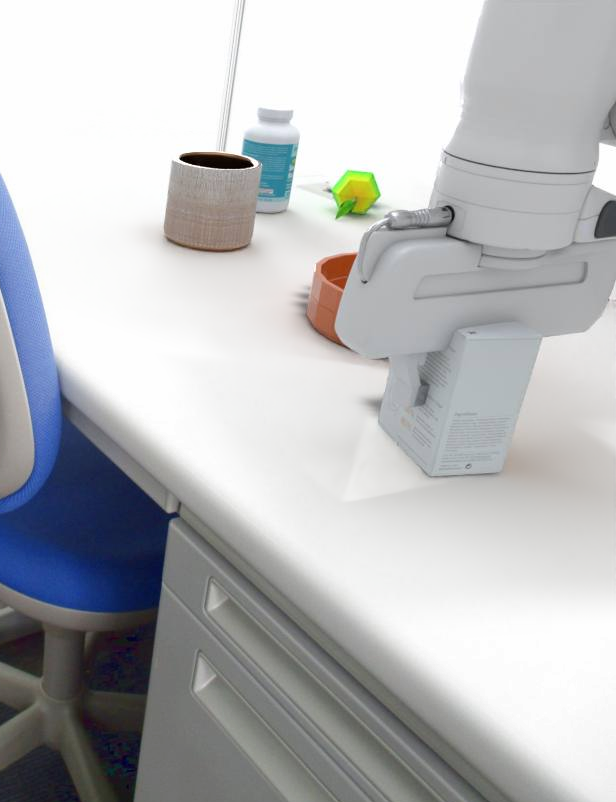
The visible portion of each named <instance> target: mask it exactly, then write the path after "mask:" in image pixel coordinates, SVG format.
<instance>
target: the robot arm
mask: <svg viewBox="0 0 616 802" xmlns="http://www.w3.org/2000/svg"><path fill="white" fill-rule="evenodd" d="M459 88H460V89H459V91H460V96H459V97H460V99H459V105H458V110H457V114H456V117H455V119H454V122H453V124H452V126H451V128H450V130H449V131H448V133H447V134H446V136H445V139H444V141H443V144H442V148H441V153H440V157H439V161H438V165H437V169H436V173H435V177H434V181H433V185H432V190H431V194H430V198H429V202H428V205H427V207H426V208H422V209H421V208H420V209H416V210H407V209H395V210H391V211H388V212H386V213H385V214H384V216H383V218H381V219H379V220H378V221H376V222H375V223H373V224H372V225H371V226H370V227H369V228H368V229H366V230H365V231H364V233H363V235H362V237H361V239H360V243H359V248H358V251H357V252H358V255H357V257H356V259H355V261H354V263H353V266H352V269H351V271H350V274H349V277H348V280H347V283H346V286H345V289H344V292H343V295H342V298H341V301H340V305H339V308H338V312H337V316H336V320H335V331H336V333H337V335H338V337H339V339H340V340H341V342H342V343H344V344H345V345H346V346H348V347H349V348H348V347H347V348H348V349H350V350H352V351H353V352H354V353H356V354H359V355H360V356H361V357H364V358H365V359H368V360H378V359H379V360H380V359H388V361H389V363H390V365H391V367H392V370H393V373H394V375H395V377H396V380H395V384H394V388H393V392H392V398H393V400H394V402H396V403H397V404H399V405H400V406H401V407H403V408H410V407H417V406H423V405H424V404H425V402H426V395H427V394H428V391H429V387H430V385H429V384H428V383H426V382H425V381H422V380H420V378H419V374H418V369H417V365H423V364H424V363H425V360H426V357H427V353H428V352H433V351H441V350H447V349H448V348H449V346H450V343H451V341H452V338H453V334H454V331H456V330H459V329H463V328H468V327H474V326H480V325H487V324H494V323H502V322H512V321H519V322H521V323H522V324H524V325H526V326H527V327H529V328H530V329H532V330H534V331H535V332H537V333H539V334H540V335H542V336H543V338H549V337H558V336H565V335H573V334H574V335H575V334H581V333H586V332H588V331H589V330H590V329H591V328H592V327H593V326H594V325H595V324H596V323H597V321H599V319H600V318H601V317H602V315H603V314H604V312H605V309H606V308H607V306H608V305H607V304H608V302H609V301H610V298H611V295H612V292H613V289H614V287H615V284H616V195H615V194H613V193H610V192H609V191H606V190H605V189H602V188H599V187H597V186H595V185H594V184H593V181H594V178H595V175H596V172H597V169H598V167H599V166H598V165H599V161H600V144H603V145H606V146H611V147H615V148H616V0H479V3H478V6H477V9H476V12H475V15H474V19H473V22H472V26H471V30H470V33H469V37H468V40H467V45H466V48H465V53H464V57H463V61H462V66H461V69H460V74H459ZM387 357H388V358H387Z"/></svg>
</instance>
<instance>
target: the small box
mask: <svg viewBox="0 0 616 802" xmlns="http://www.w3.org/2000/svg"><path fill="white" fill-rule="evenodd" d="M543 338H544V337H543V336H542V335H540V334H539V333H537V332H535V331H534V330H532V329H530V328H529V327H527V326H526V325H524V324H522V323H521V322H519V321H512V322H502V323H494V324H487V325H480V326H474V327H468V328H463V329H459V330H456V331H454V334H453V338H452V341H451V343H450V346H449V348H448V349H447V350H441V351H433V352H428V353H427V357H426V360H425V363H424V364H423V365H417V369H418V374H419V378H420V380H422V381H425V382H426V383H428V384H429V385H430V387H429V391H428V394H427V395H426V402H425V404H424V405H423V406H417V407H410V408H403V407H401V406H400V405H399V404H397V403H396V402H394V400H393V398H392V392H393V388H394V384H395V380H396V377H395V375H394V373H393V370H392V367H391V364H390V365H389V370H388V375H387V378H386V383H385V387H384V391H383V397H382V400H381V405H380V408H379V409H380V410H379V414H378V417H377V424H378V425H379V426H380V427H381V428H382V429H383V430H384V432H386V433H387V434H388V435H389V436H390V437H391V438H392V439H393V441H395V443H397V444H398V445H399V447H401V449H402V450H403V451H404V452H405V453H406V454H408V455H409V457H410V458H411V459H412V460H414V462H415V463H416V464H417V465H418V466H419V467H420V468H421V469H422V470H423V471H424V472H425V473H426V474H427V475H428V476H429V477H432V478H433V477H446V476H461V475H481V474H497V473H501V472H502V471H503V467H504V464H505V462H506V459H507V458H506V457H507V454H508V451H509V448H510V445H511V442H512V439H513V435H514V432H515V429H516V425H517V422H518V419H519V415H520V413H521V409H522V406H523V404H524V400H525V397H526V394H527V390H528V388H529V387H528V386H529V384H530V381H531V377H532V374H533V370H534V368H535V363H536V360H537V357H538V354H539V351H540V348H541V344H542V341H543Z"/></svg>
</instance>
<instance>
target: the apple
mask: <svg viewBox="0 0 616 802" xmlns="http://www.w3.org/2000/svg"><path fill="white" fill-rule="evenodd" d="M330 190H331V194H332V195H333V198H334V201H335V204H336V206H337V209H338V211H337V213H336V215H335V218H334V221H336V220H338V219H340V218H341V217H344V216H346V215H348V214H354V215H362V216H365V215H366V213H368V211H369V210H370V209H371V208H372V207H373V205H374V204H375V203H376V202H377V201H378V200H379V199H380V198H381V196H382V194H381V192H380V188H379V186H378V183H377V180H376V177H375V174H374V172H371V171H370V172H369V171H362V170H352V169H347V170H346V171H345V172H344V174H343V175H342V176H341V177H340V178H339V179H338V180H337V182H336V183H335V184H334V185H333V187H332V188H331V189H330Z"/></svg>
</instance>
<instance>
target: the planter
mask: <svg viewBox="0 0 616 802" xmlns="http://www.w3.org/2000/svg"><path fill="white" fill-rule="evenodd" d="M261 171H262V163H261V162H259V161H258V160H256V159H254V158H251V157H247V156H244V155H241V154H239V153H233V152H227V151H216V150H187V151H182V152H177V153H175V154H173V155H172V156H171V160H170V170H169V177H168V186H167V188H168V189H167V197H166V205H165V211H164V221H163V233H164V235H165V236H166V237H167V238H168V239H170V240H171V241H172V242H173V243H176V244H178V245H180V246H182V247H186V248H190V249H195V250H202V251H214V252H215V251H216V252H220V251H221V252H222V251H233V250H238V249H241V248H243V247H245V246H246V245H249V244H250V243H251V241H252V239H253V235H254V229H255V222H256V215H257V214H256V213H257V212H256V207H257V200H258V192H259V185H260V178H261Z"/></svg>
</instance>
